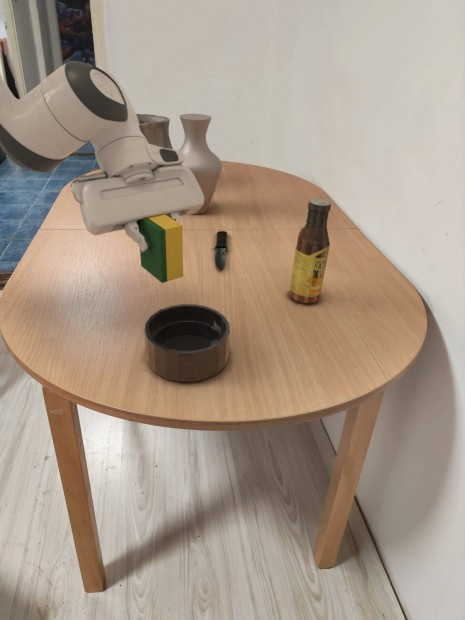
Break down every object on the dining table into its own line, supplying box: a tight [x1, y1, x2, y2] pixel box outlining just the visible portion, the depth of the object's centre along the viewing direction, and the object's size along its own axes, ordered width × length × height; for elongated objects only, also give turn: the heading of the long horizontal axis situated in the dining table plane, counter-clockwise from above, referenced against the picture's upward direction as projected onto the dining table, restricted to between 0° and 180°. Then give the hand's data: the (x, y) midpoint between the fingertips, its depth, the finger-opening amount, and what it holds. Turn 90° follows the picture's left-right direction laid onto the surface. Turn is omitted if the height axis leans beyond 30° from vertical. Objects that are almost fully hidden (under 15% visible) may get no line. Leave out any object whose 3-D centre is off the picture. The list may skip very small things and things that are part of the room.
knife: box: [214, 230, 228, 272], centre depth 106 cm, size 21×1×3 cm
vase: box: [178, 113, 223, 215], centre depth 122 cm, size 14×14×25 cm
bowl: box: [143, 303, 231, 383], centre depth 72 cm, size 13×13×6 cm
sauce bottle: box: [289, 198, 332, 304], centre depth 86 cm, size 6×6×20 cm
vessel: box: [136, 113, 174, 150], centre depth 141 cm, size 22×22×20 cm
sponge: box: [137, 214, 184, 284], centre depth 73 cm, size 4×7×9 cm, turn 38°
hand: (162, 246), depth 72 cm, fingers closed on sponge, 4 cm apart
